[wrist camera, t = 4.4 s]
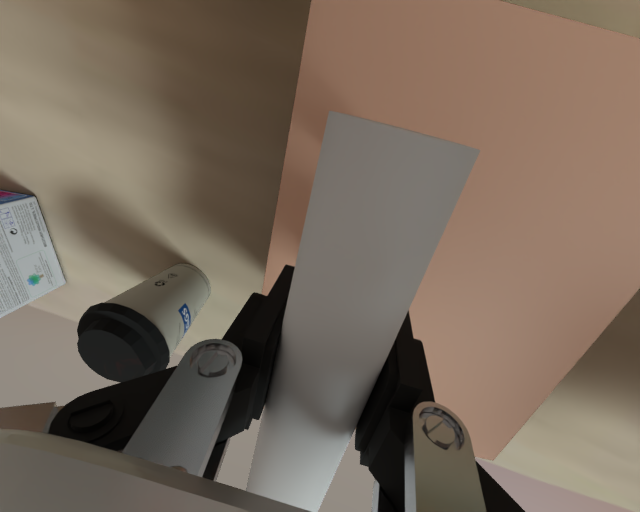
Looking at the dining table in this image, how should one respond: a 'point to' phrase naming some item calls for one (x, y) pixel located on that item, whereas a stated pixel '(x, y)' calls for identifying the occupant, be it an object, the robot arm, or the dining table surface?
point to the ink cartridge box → (25, 253)
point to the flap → (446, 218)
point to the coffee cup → (142, 324)
